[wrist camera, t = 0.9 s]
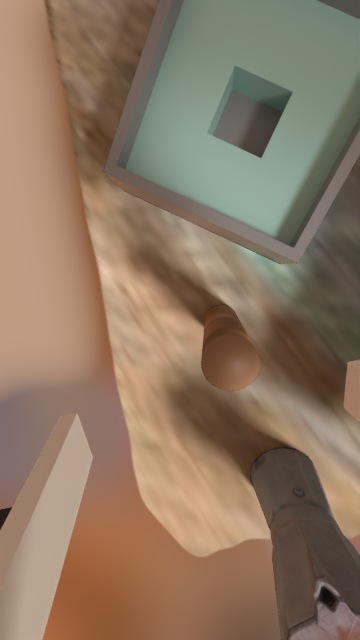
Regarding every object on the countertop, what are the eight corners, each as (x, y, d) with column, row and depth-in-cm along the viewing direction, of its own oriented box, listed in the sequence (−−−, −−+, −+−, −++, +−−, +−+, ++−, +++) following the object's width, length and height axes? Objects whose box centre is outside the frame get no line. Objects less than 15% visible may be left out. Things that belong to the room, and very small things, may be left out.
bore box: (386, 69, 23) (445, 3, 17) (279, 263, 28) (298, 263, 22) (198, -16, 24) (194, -109, 18) (124, 191, 28) (102, 171, 23)
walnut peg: (243, 313, 30) (271, 352, 16) (228, 341, 31) (242, 400, 17) (213, 299, 30) (217, 326, 16) (199, 327, 31) (191, 375, 17)
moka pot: (298, 419, 32) (437, 655, 13) (338, 509, 34) (509, 830, 15) (231, 441, 34) (260, 676, 14) (273, 526, 36) (348, 829, 17)
